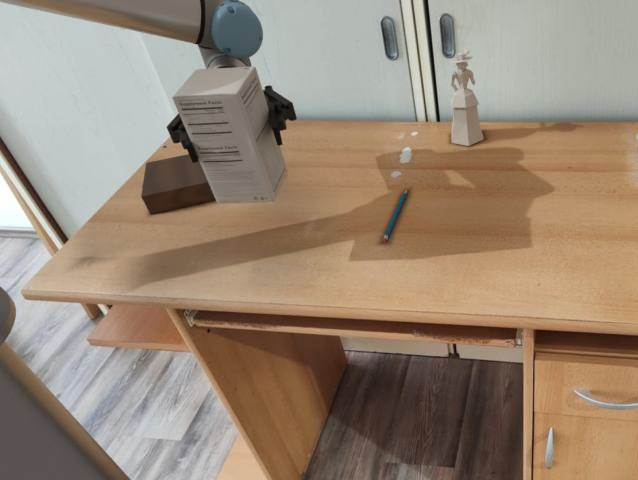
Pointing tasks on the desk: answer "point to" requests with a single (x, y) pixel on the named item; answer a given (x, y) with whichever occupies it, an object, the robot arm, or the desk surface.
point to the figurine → (464, 105)
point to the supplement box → (232, 134)
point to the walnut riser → (174, 184)
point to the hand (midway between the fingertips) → (235, 145)
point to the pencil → (394, 217)
